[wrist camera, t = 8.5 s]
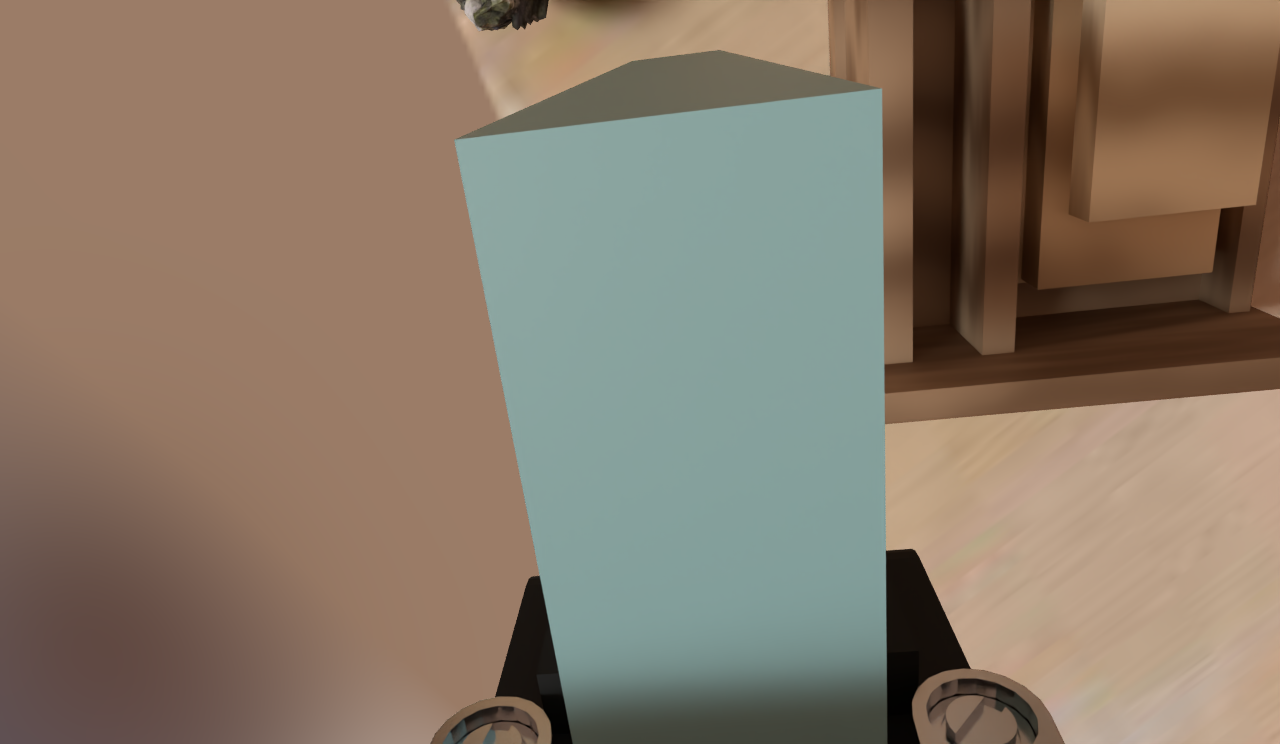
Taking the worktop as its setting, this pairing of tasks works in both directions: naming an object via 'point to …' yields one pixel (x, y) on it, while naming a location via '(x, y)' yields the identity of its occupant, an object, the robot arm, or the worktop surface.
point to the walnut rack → (990, 236)
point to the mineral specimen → (503, 12)
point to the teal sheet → (697, 393)
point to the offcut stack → (1140, 134)
